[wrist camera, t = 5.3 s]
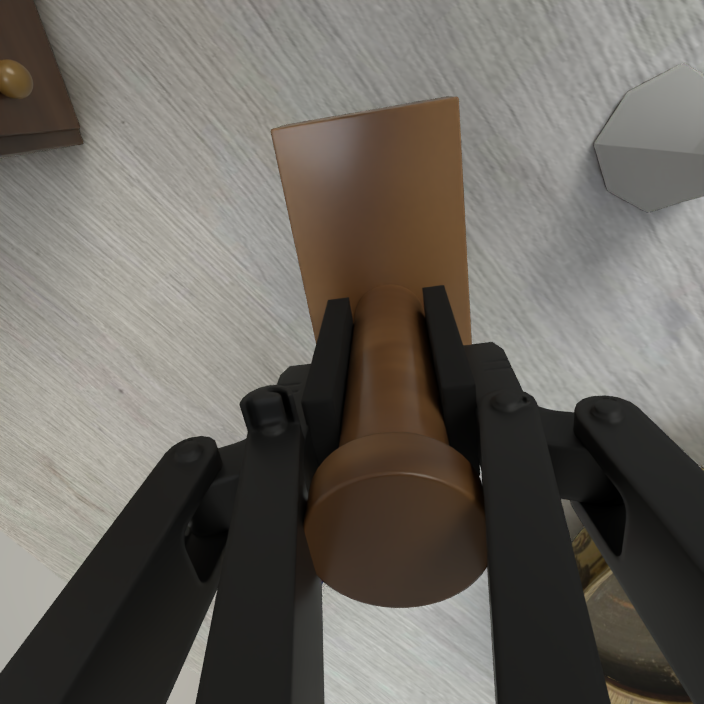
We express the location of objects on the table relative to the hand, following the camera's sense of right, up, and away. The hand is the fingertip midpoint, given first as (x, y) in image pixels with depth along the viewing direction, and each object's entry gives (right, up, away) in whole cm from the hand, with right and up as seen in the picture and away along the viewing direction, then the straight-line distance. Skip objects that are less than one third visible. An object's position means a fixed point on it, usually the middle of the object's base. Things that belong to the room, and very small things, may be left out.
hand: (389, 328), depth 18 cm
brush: (0, +3, +5) cm, 6 cm away
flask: (+16, +11, +10) cm, 22 cm away
